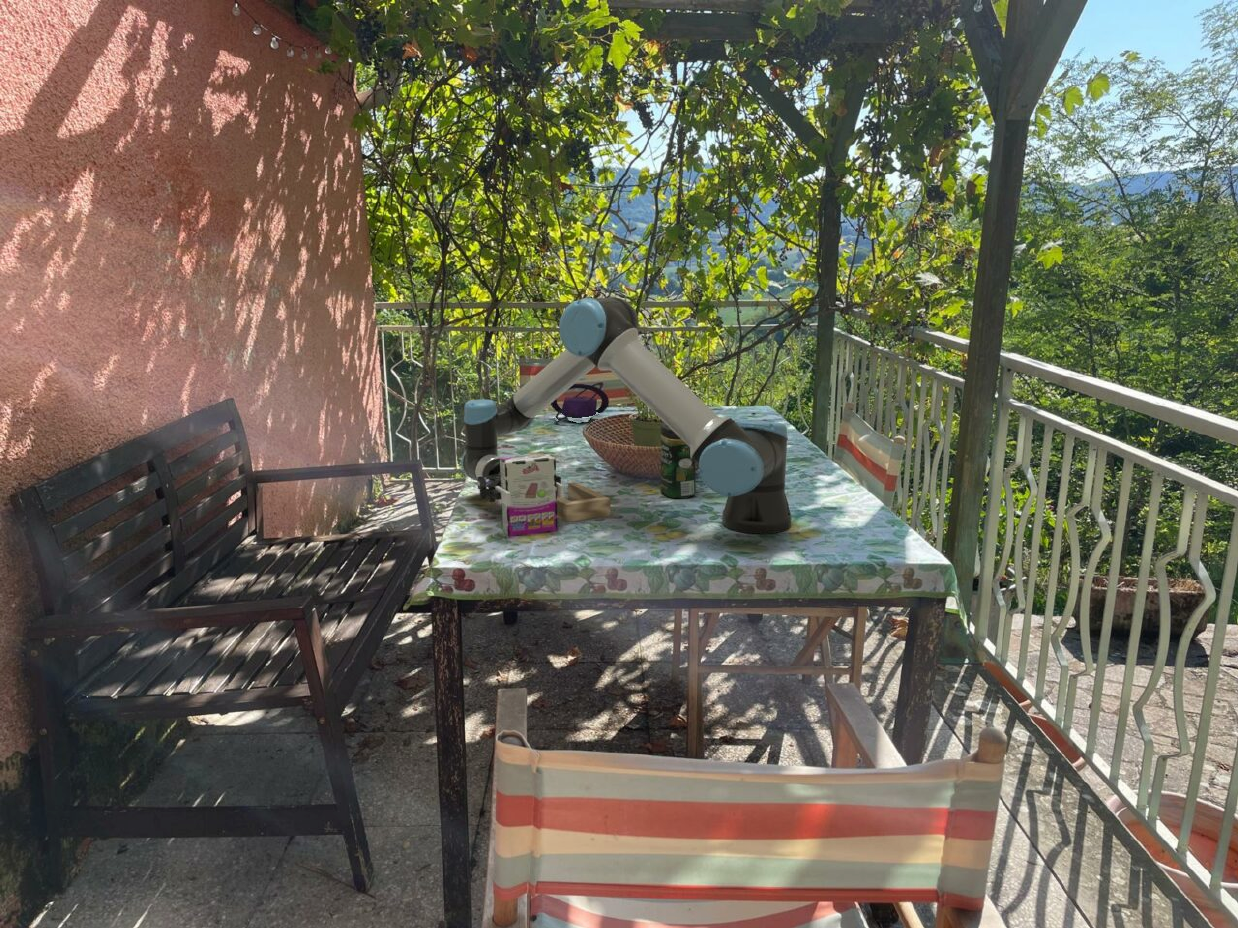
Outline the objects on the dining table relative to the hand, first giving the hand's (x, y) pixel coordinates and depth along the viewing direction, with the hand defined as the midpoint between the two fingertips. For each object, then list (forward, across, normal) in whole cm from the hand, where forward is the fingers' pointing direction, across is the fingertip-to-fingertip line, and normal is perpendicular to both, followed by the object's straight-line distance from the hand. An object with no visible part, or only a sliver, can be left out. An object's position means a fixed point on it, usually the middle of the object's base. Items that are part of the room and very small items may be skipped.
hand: (536, 495), depth 175 cm
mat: (-14, -15, -9) cm, 22 cm away
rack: (-14, -15, -9) cm, 22 cm away
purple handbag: (-119, -71, -9) cm, 139 cm away
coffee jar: (-15, -45, -9) cm, 48 cm away
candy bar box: (-4, 0, -9) cm, 10 cm away
